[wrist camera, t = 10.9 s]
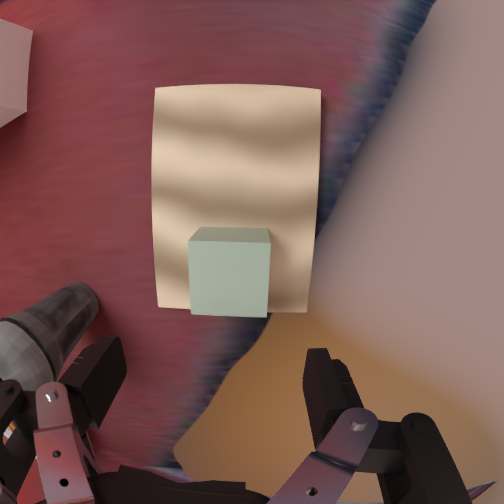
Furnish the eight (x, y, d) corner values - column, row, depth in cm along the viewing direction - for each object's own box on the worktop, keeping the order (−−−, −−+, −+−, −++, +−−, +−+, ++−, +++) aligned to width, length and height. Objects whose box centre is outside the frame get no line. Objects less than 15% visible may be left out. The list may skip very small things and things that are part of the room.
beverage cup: (109, 337, 29) (20, 469, 10) (59, 317, 29) (-41, 421, 10) (111, 280, 27) (-17, 409, 8) (57, 262, 27) (-75, 354, 8)
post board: (160, 92, 22) (139, 75, 17) (317, 93, 22) (333, 75, 17) (162, 300, 28) (145, 327, 23) (304, 305, 28) (314, 335, 23)
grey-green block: (200, 226, 24) (187, 240, 19) (267, 228, 24) (271, 243, 19) (201, 288, 26) (191, 314, 21) (264, 290, 26) (266, 317, 21)
